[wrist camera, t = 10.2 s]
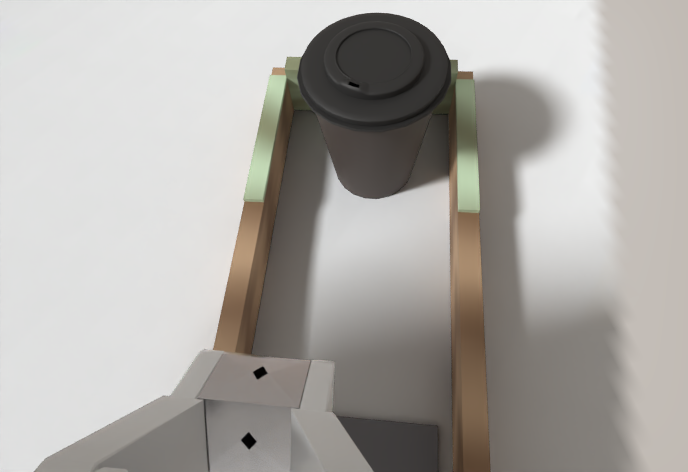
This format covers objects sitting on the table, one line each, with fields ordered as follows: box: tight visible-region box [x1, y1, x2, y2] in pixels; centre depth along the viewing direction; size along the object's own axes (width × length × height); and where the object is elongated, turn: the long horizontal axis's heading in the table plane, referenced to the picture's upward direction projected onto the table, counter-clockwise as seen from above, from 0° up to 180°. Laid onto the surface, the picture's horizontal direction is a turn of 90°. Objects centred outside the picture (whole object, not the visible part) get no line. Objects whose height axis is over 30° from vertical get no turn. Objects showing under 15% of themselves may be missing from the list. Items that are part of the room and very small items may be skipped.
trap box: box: [213, 57, 490, 472], centre depth 24 cm, size 36×14×4 cm, turn 175°
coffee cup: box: [297, 13, 451, 199], centre depth 27 cm, size 8×8×10 cm
